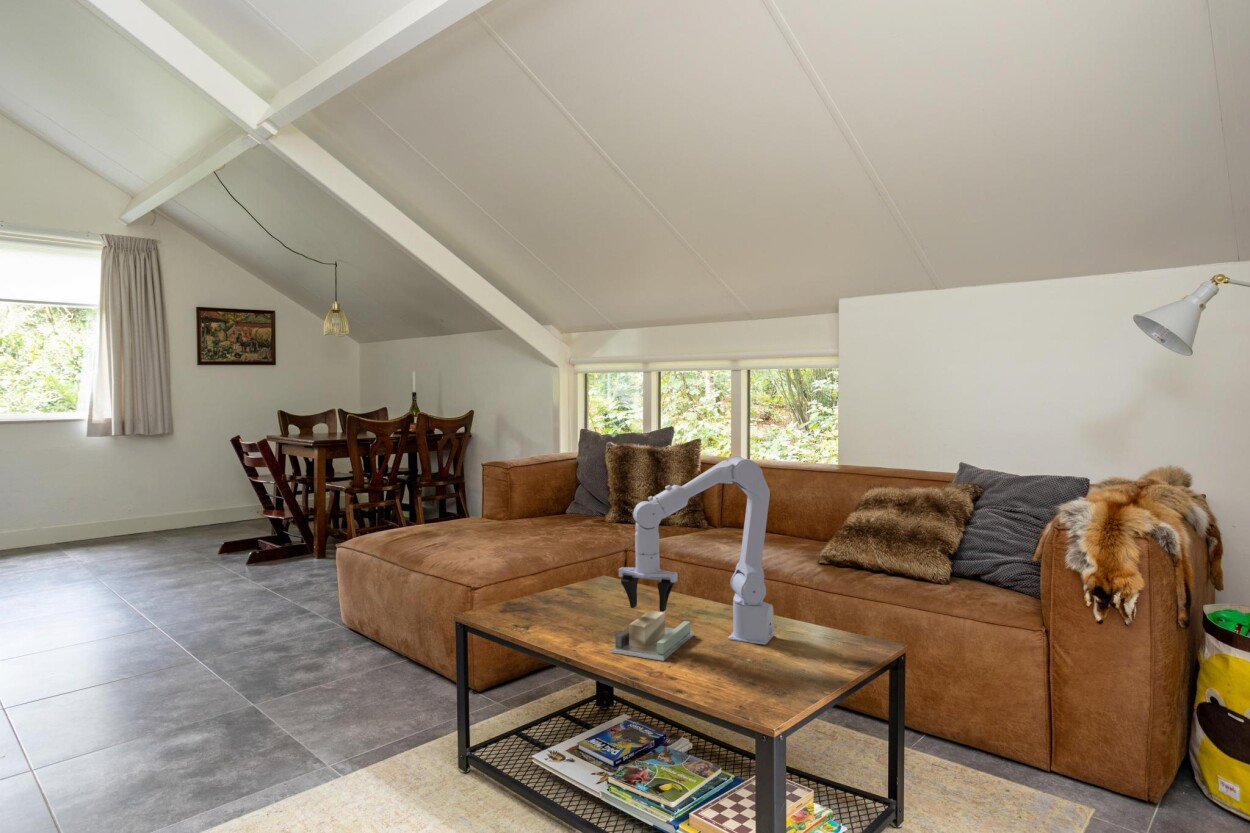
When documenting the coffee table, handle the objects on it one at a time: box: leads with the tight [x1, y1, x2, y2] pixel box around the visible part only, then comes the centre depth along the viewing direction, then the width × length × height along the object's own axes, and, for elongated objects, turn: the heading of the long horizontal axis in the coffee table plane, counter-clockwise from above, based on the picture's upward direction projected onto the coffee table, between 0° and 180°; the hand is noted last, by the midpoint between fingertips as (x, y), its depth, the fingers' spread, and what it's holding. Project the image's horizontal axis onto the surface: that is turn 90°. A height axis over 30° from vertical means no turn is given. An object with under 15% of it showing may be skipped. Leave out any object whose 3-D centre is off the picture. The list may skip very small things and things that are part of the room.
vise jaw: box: [657, 620, 691, 654], centre depth 176 cm, size 2×17×2 cm, turn 154°
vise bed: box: [611, 626, 695, 662], centre depth 178 cm, size 13×19×4 cm
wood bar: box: [628, 609, 666, 648], centre depth 179 cm, size 4×12×5 cm, turn 154°
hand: (648, 608), depth 179 cm, fingers open, 7 cm apart
